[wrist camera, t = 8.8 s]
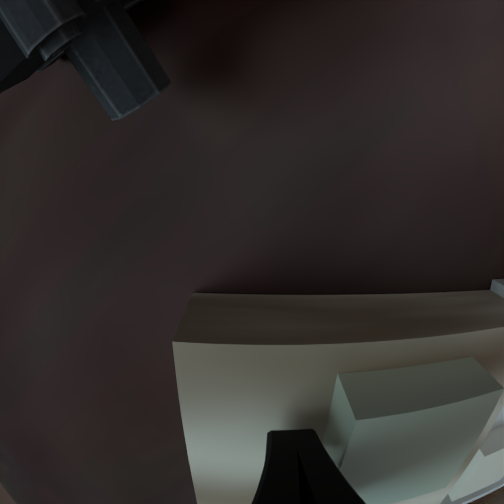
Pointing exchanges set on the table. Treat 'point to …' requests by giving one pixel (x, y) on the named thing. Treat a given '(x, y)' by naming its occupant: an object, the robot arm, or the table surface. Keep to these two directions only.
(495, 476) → the tile cream
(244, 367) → the bench board
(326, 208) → the table surface
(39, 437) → the table surface
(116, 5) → the tool
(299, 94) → the table surface
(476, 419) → the tile sage
